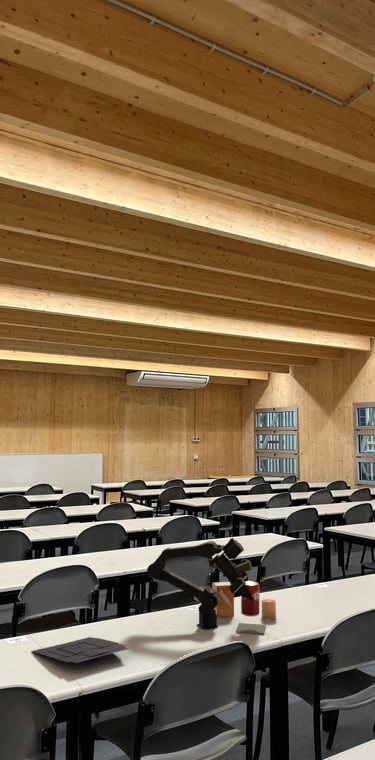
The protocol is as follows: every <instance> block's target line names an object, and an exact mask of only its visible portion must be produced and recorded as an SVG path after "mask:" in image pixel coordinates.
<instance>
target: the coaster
mask: <svg viewBox="0 0 375 760" xmlns="http://www.w3.org/2000/svg"><path fill="white" fill-rule="evenodd" d="M266 628H267V624H259V623H244V622H243V623H242V622H239V623H238V624H237V627H236V629H235V634H245V635H246V634H247V635H259V636H261V635H262V636H264V635H265V632H266Z"/></svg>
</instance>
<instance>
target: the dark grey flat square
mask: <svg viewBox="0 0 375 760" xmlns="http://www.w3.org/2000/svg"><path fill="white" fill-rule="evenodd" d="M129 649H131V648H130V647H128V646H127V645H124V644H123V643H120V642H117V641H112V640H108V639H104V638H98V637H91V636H88V637H85V638H80V639H77V640H72V641H68V642H64V643H61V644H60V643H59V644H56V645H52V646H48V647H43V648H38V649H35V650H31V652H33V653H35V654H40V655H43V656H47V657H49V658H52V659H54V660H57V661H60V662H61V661H63V662H66V663H71V662H72V663H75V664H79V663H82V662H85V661H89V660H92V659H96V658H100V657H103V656H108V655H111V654H115V653H119V652H122V651H123V652H124V651H126V650H129Z"/></svg>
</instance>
